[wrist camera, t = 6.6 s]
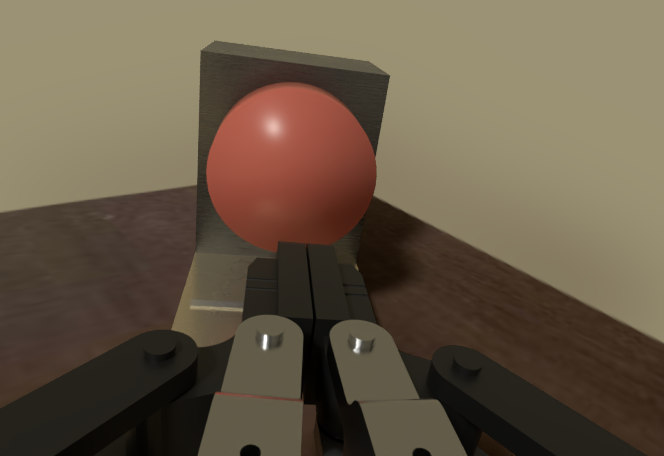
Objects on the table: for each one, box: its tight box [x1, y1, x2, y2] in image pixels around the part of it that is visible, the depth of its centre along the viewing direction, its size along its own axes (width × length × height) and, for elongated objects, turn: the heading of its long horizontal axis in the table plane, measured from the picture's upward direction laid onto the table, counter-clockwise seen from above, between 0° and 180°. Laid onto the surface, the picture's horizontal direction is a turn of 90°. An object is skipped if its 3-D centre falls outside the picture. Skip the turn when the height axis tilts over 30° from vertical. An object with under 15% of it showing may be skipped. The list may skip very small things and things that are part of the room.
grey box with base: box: [171, 41, 390, 348], centre depth 25 cm, size 14×9×12 cm, turn 6°
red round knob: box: [206, 82, 376, 252], centre depth 25 cm, size 10×7×7 cm
